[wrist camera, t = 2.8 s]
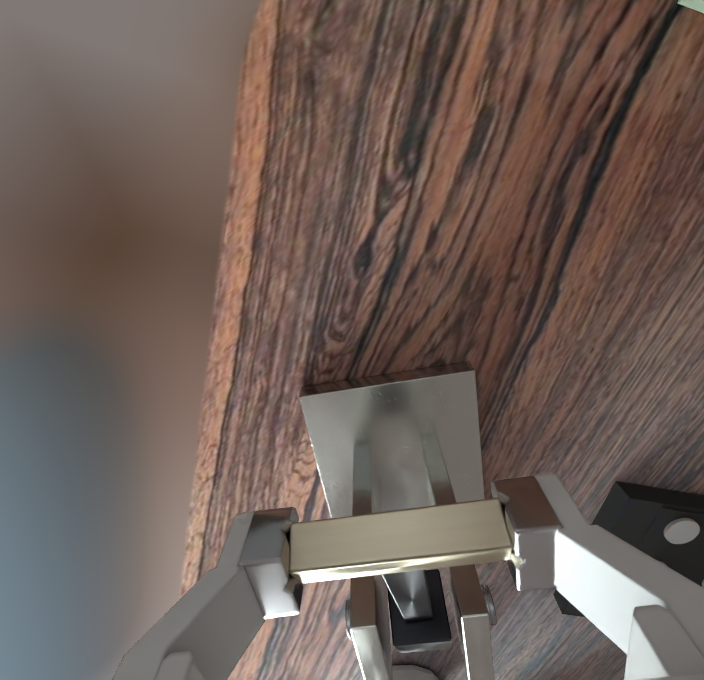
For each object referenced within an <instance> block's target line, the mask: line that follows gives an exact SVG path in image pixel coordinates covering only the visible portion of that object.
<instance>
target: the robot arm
mask: <svg viewBox="0 0 704 680" xmlns="http://www.w3.org/2000/svg"><path fill="white" fill-rule="evenodd" d="M491 494H492V497H493V498H498V500H499V501H500V503H501V505H502V508H503V511H504V515H505V523H506V526H507V529H508V532H509V536H510V539H511V542H512V546H513V550H512V552H511V554H510V556H509V558H508V560H507V561H508V566H509V569H510V572H511V574H512V577H513V579H514V582H515V585H516V587H517V590H518V591H522V590H535V589H548V588H557V589H556V590H557V591H558V592H559V593H560V594H562V595H563V596H564V597H565V598H566V599H567V600H568V601H569V602H570V603H571V604H572V605H574V606H575V607H576V608H577V609H578V610H579V611H580V612H581V613H582V614H583V615H584V616H586V617H587V618H588V619H589V620H590V621H591V622H592V623H593V624H594V625H595V626H596V627H597V628H599V629H600V630H601V631H602V632H603V633H604V634H605V635H606V636H607V637H608V638H609V639H611V640H612V641H613V642H614V643H615V644H616V645H617V646H618V647H619V648H620V649H621V650H623V651H624V652H625V653H626V654H627V661H626V668H625V676H624V680H704V588H703V587H701V586H699V585H698V584H696V583H694V582H692V581H691V580H689V579H687V578H686V577H684V576H682V575H681V574H679V573H677V572H676V571H674V570H672V569H671V568H669V567H667V566H666V565H664V564H662V563H660V562H659V561H657V560H655V559H654V558H652V557H650V556H649V555H647V554H645V553H644V552H642V551H640V550H639V549H637V548H635V547H633V546H632V545H630V544H628V543H627V542H625V541H623V540H622V539H620V538H618V537H617V536H615V535H613V534H612V533H610V532H608V531H607V530H605V529H603V528H601V527H600V526H598V525H589V523H588V522H587V520H586V519H585V517H584V516H583V514H582V513H581V511H580V510H579V508H578V506H577V505H576V503H575V502H574V500H573V499H572V497H571V496H570V494H569V493H568V491H567V490H566V488H565V487H564V485H563V484H562V482H561V480H560V479H559V477H558V476H557V475H556V474H555V473H546V474H539V475H533V476H526V477H519V478H511V479H504V480H497V481H491ZM298 520H299V517H298V514H297V511H296V508H294V507H289V508H279V509H269V510H259V511H254V512H244V513H238V514H237V515H236V516H235V517H234V519H233V522H232V525H231V527H230V530H229V533H228V536H227V538H226V541H225V544H224V547H223V549H222V552H221V555H220V558H219V560H218V563H217V566H216V569H212V570H209V571H208V572H207V573H206V574H205V575H204V576H203V577H202V578H201V579H200V580H199V581H198V582H197V583H196V584H195V585H194V586H193V587H192V588H191V589H190V590H189V591H188V592H187V593H186V594H185V595H184V596H183V597H182V598H181V599H180V600H179V601H178V602H177V603H176V604H175V605H174V606H173V607H172V608H171V609H170V610H169V611H168V612H167V613H166V614H165V615H164V616H163V617H162V618H161V619H160V620H159V621H158V622H157V623H156V624H155V625H154V626H153V627H152V628H151V629H150V630H149V631H148V632H147V633H146V634H145V635H144V636H143V637H142V638H141V639H140V640H139V641H138V642H137V643H136V644H135V645H134V646H133V647H132V648H131V649H130V650H129V651H128V652H127V653H126V654H125V655H124V656H123V658H122V660H121V663H120V664H119V666H118V668H117V670H116V672H115V674H114V676H113V679H112V680H227V678H228V677H229V675H230V673H231V672H232V670H233V669H234V667H235V666H236V664H237V663H238V661H239V660H240V658H241V657H242V655H243V654H244V652H245V651H246V649H247V648H248V646H249V645H250V643H251V642H252V640H253V639H254V637H255V636H256V634H257V633H258V631H259V630H260V628H261V627H262V625H263V623H264V622H265V618H272V617H279V616H287V615H294V614H299V612H300V605H301V598H302V591H303V585H302V583H301V582H300V581H298V580H297V579H296V578H294V577H293V576H292V575H291V574H289V565H290V546H289V539H290V527H291V524H293V523H298Z"/></svg>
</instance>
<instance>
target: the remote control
mask: <svg viewBox="0 0 704 680" xmlns="http://www.w3.org/2000/svg"><path fill="white" fill-rule="evenodd" d="M592 525H598V526H600V527H601V528H603V529H605V530H607V531H608V532H610V533H612V534H613V535H615V536H617V537H618V538H620V539H622V540H623V541H625V542H627V543H628V544H630V545H632V546H633V547H635V548H637V549H639V550H640V551H642V552H644V553H645V554H647V555H649V556H650V557H652V558H654V559H655V560H657V561H659V562H660V563H662V564H664V565H666V566H667V567H669V568H671V569H672V570H674V571H676V572H677V573H679V574H681V575H682V576H684V577H686V578H687V579H689V580H691V581H692V582H694V583H696V584H698V585H699V586H701V587H703V588H704V495H698V494H692V493H685V492H679V491H673V490H666V489H660V488H654V487H647V486H641V485H635V484H628V483H622V482H615V484H614V486H613V488H612V489H611V491H610V493H609V495H608V497H607V498H606V500H605V502H604V504H603V506H602V507H601V509H600V511H599V513H598V515H597V516H596V518H595V520H594V522H593V524H592ZM553 595H554V597H555V599H556V601H557V603H558V606H559V608H560V610H561V612H562V614H567V615H575V616H582V617H586V616H584V615H583V614H582V613H581V612H580V611H579V610H578V609H577V608H576V607H575V606H574V605H572V604H571V603H570V602H569V601H568V600H567V599H566V598H565V597H564V596H563V595H562V594H560V593H559V592H558V591H557V590H556V591H555V592H554V594H553Z"/></svg>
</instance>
